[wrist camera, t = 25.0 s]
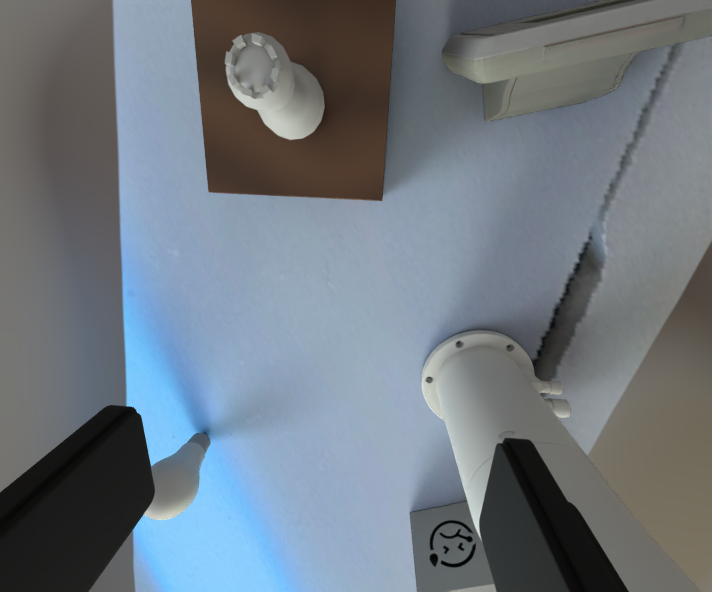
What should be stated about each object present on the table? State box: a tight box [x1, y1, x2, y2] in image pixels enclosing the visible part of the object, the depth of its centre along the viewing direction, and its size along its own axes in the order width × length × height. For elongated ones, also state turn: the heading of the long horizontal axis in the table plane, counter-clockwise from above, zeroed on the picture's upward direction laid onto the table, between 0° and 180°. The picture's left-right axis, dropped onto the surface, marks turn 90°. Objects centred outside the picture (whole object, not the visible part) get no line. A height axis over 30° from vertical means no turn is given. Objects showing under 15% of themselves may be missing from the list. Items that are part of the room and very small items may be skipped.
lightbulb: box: [144, 433, 210, 520], centre depth 40 cm, size 6×6×11 cm
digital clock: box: [442, 0, 712, 122], centre depth 24 cm, size 16×9×11 cm, turn 89°
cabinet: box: [191, 0, 396, 201], centre depth 27 cm, size 14×13×10 cm
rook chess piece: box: [225, 32, 325, 140], centre depth 19 cm, size 4×4×8 cm
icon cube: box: [410, 501, 497, 592], centre depth 43 cm, size 10×10×10 cm
